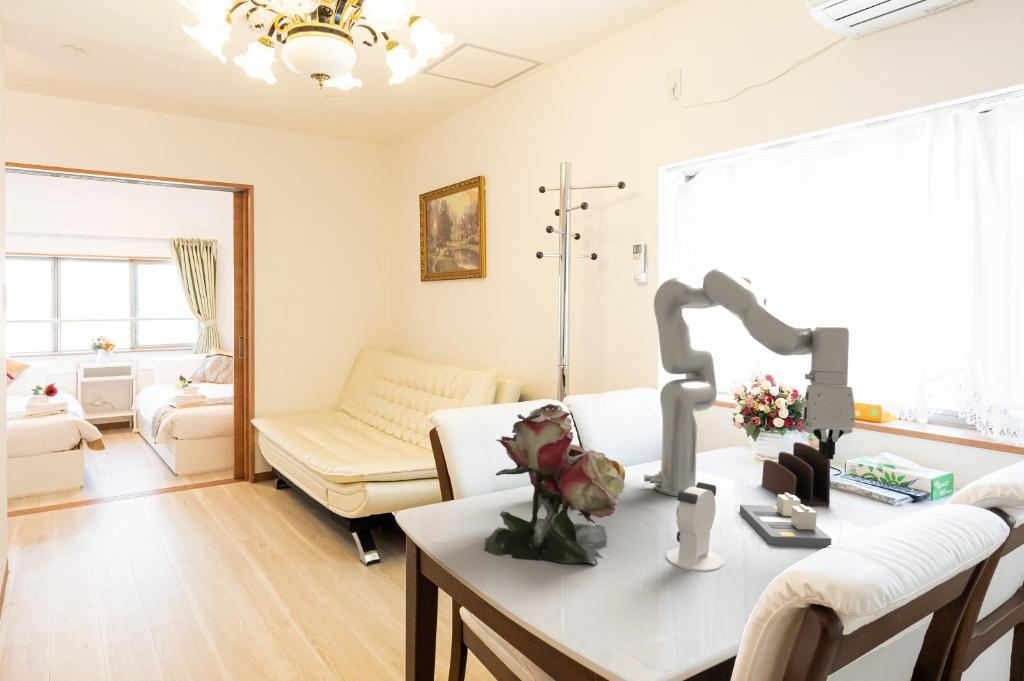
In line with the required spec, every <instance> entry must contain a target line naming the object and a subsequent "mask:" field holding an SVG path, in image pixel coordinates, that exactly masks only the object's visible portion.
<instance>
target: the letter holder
mask: <svg viewBox="0 0 1024 681" xmlns="http://www.w3.org/2000/svg"><path fill="white" fill-rule="evenodd" d="M792 447H793V450H792V451H793V454H792V453H789V452H786V451H779V453H778V456H777V457H778V459H777V460H778V462H776V461H773V460H771V459H764V461H763V465H762V466H763V467H762V478H761V484H762V486H764V487H765V488H767V489H768V490H769V491H771V492H772V493H774V494H775V495H777V496H778V495H784V494H785V493H789V494H790V495H795V496H796V497H797V498H799V499H800V500H801V503H800V504H803V505H804V506H806V507H830V503H831V502H830V499H831V496H830V495H831V459H824V458H822V457H821V456H820V454H819V449H817V448H816V447H814V446H811V445H808V444H805V443H803V442H797V441H794V442H793V445H792Z"/></svg>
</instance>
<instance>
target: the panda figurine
mask: <svg viewBox="0 0 1024 681" xmlns="http://www.w3.org/2000/svg"><path fill="white" fill-rule="evenodd" d="M696 485H697V486H696V487H689V488H688V489H686V490H685V491H684V492H683V491H679V493H678V496H676V497H677V499H676V500H677V501H678V505H677V509H676V525H677V529H678V531H677V533H676V541H677V542H678V543H679V547H676V548H672V549H670V550H667V552H666V554H665V558H666V560H667V561H668V562H669V563H670V564H672V565H673V566H676V567H678V568H680V567H681V569H683V568H684V569H685V570H688V571H695V572H712V571H716V570H719V569H721V568H722V567H723V566H724V562H723V559H722V557H721V556H719V555H717V553H715V552H712V551H709V550H710V549H709V548H710V536H711V529H712V527H713V524H714V521H715V516H716V510H717V508H716V507H717V506H716V498H715V496H716V494H717V486H716V485H715V484H711V483H707V482H706V483H705V482H701V481H698V482H697V484H696Z"/></svg>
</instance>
